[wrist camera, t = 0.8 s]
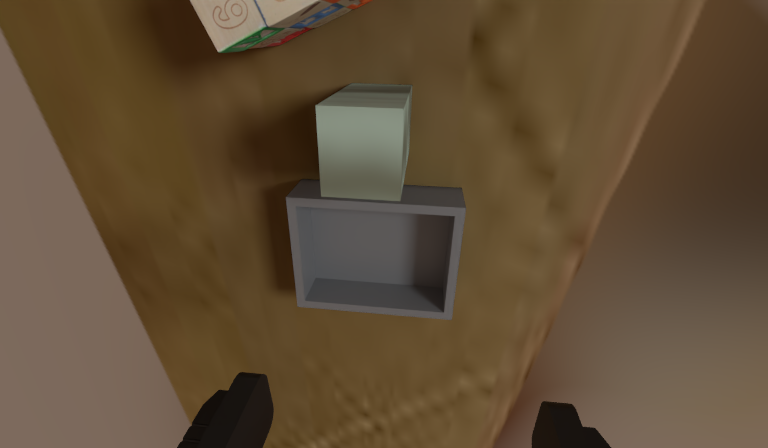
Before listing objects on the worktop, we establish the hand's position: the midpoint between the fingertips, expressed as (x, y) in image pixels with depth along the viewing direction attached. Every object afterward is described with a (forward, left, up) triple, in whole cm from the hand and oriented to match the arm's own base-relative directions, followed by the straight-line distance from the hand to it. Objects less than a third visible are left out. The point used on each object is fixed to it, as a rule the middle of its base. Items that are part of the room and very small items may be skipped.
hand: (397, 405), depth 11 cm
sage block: (-4, -3, -22) cm, 22 cm away
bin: (+7, -3, -22) cm, 23 cm away
